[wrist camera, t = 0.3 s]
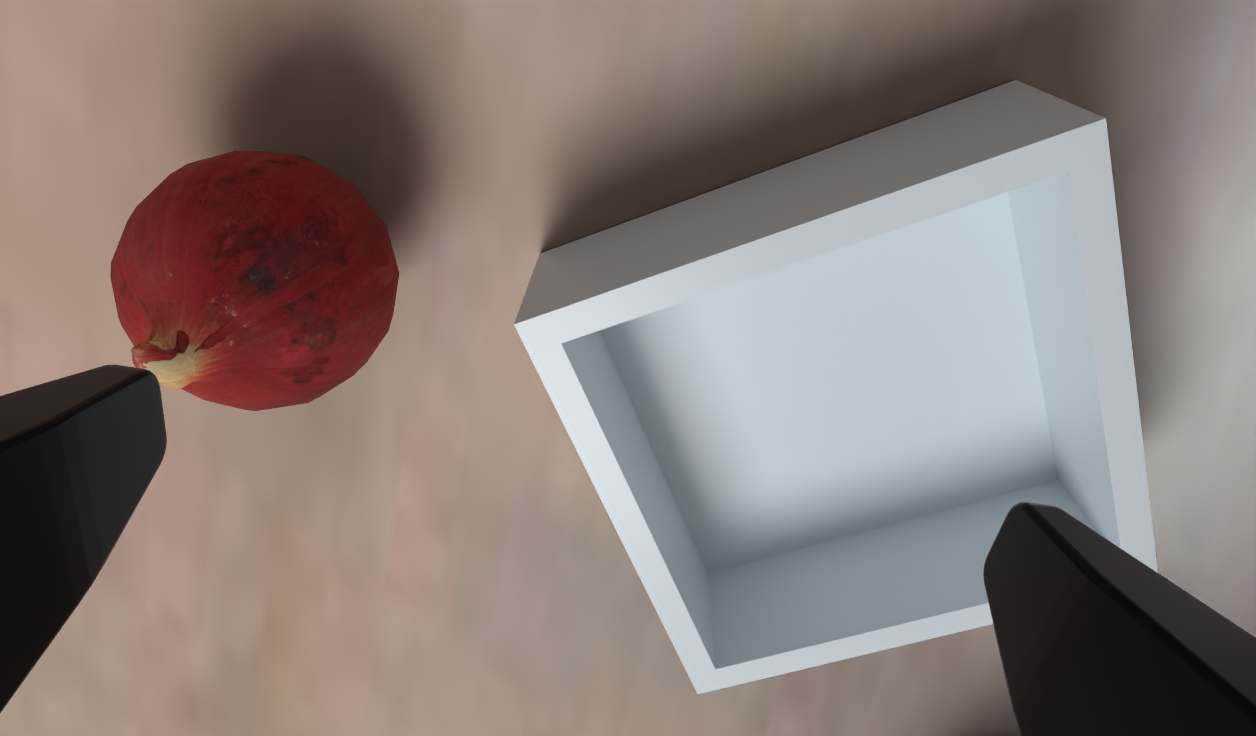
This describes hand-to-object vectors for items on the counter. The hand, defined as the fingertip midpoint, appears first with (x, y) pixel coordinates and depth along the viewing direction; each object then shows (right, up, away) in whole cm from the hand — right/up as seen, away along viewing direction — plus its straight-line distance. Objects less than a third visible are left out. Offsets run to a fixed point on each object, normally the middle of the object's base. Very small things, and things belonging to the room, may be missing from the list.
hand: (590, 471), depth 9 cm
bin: (+6, +1, +15) cm, 16 cm away
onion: (-8, +5, +14) cm, 16 cm away
